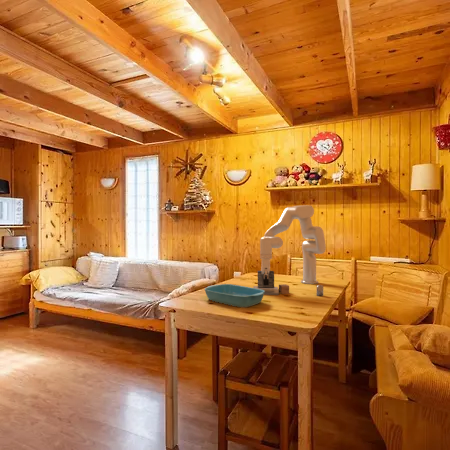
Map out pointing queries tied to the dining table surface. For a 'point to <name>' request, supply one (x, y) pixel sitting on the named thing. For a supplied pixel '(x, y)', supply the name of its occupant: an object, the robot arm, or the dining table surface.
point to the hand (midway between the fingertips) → (265, 283)
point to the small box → (270, 277)
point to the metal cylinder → (319, 290)
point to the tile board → (269, 290)
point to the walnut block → (284, 289)
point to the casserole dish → (234, 295)
